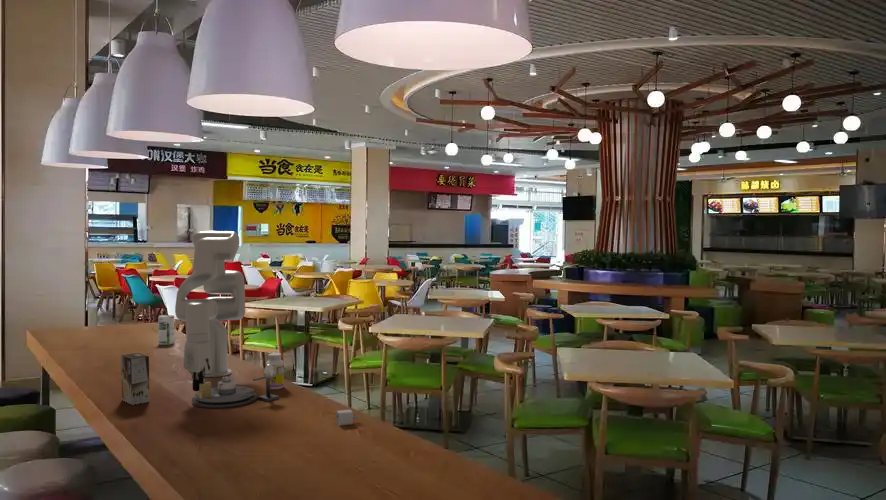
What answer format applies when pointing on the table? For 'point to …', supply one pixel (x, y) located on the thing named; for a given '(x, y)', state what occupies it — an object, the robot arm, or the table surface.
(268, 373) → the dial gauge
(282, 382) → the supplement bottle
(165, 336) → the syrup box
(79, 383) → the table surface
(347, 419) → the usb wall charger
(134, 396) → the coffee box
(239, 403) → the turntable base
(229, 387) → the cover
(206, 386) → the platter
